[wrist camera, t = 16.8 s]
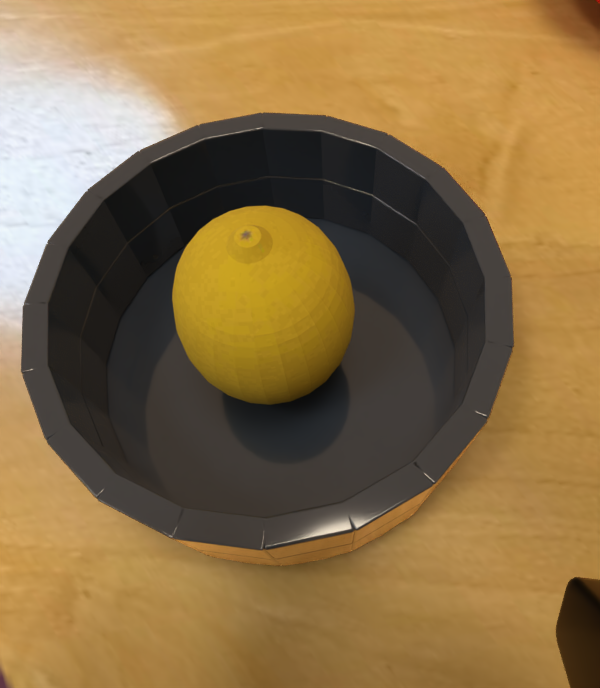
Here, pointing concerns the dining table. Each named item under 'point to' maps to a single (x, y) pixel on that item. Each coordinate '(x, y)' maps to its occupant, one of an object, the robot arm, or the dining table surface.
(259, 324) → the lemon
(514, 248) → the dining table surface
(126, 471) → the pot
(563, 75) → the dining table surface
